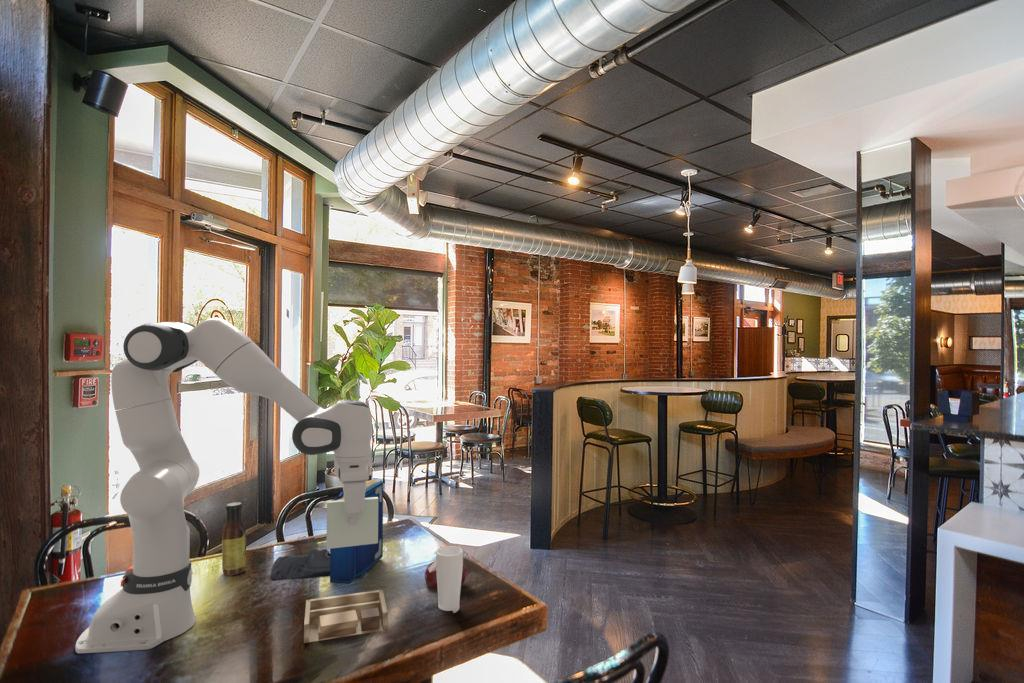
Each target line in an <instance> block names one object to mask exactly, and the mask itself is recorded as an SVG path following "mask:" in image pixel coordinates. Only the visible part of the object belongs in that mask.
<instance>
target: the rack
mask: <svg viewBox="0 0 1024 683" xmlns="http://www.w3.org/2000/svg"><path fill="white" fill-rule="evenodd" d="M372 608H378V610H379V615H380V624H379V629H374V630H368V631H361V610H365V609H372ZM351 610H356V614H357V618H358V626H357V627H356V634H350V635H343V636H337V637H331V638H324V639H318V632H319V619H320V616H322V615H328V614H334V613H339V612H345V611H351ZM388 618H389V617H388V608H387V604H386V599H385V595H384V590H383V589H377V590H370V591H361V592H355V593H348V594H340V595H339V594H338V595H333V596H324V597H318V598H311V599H310V598H309V599H306V600H305V610H304V622H303V623H304V624H303V644H305V643H306V644H308V643H314V642H319V641H320V642H321V641H325V640H332V639H339V638H345V637H352V636H357V635H364V634H370V633H375V632H376V633H377V632H383V631H388Z"/></svg>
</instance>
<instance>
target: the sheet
mask: <svg viewBox="0 0 1024 683" xmlns="http://www.w3.org/2000/svg"><path fill="white" fill-rule="evenodd" d="M376 543H378V497H370V498H365V500H364V508H363V512H362V514H360V515H357V524H356V525H354V526H350V525H349V516H348V515H347V514H346V509H345V501H344V500H334V501H332V500H327V501H326V542H325V544H326V547H325V549H327V550H330V549H332V548H340V547H349V546H358V545H367V544H376Z"/></svg>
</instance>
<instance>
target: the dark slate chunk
mask: <svg viewBox="0 0 1024 683" xmlns="http://www.w3.org/2000/svg"><path fill="white" fill-rule="evenodd" d="M323 577H324V578H325V577H330V550H328V549H326V548H324V549H321V550H320V549H319V550H318V549H312V550H310V551H309V553H308V554H302V555H301V554H300V555H292V556H291V555H287V556H286V555H285V556H278V557H277V559H276V560H275V561H274V563H273V564H272V568H271V570H270V579H271V581H283V580H299V579H300V580H301V579H310V578H311V579H312V578H313V579H314V578H323Z"/></svg>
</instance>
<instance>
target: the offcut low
mask: <svg viewBox="0 0 1024 683" xmlns="http://www.w3.org/2000/svg"><path fill="white" fill-rule="evenodd" d="M350 634H356V627H352V628H347V629H342V630H336V631H331V632H326V633H321V631H320V623H319V632H318V639H324V638H331V637H337V636H343V635H350Z"/></svg>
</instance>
